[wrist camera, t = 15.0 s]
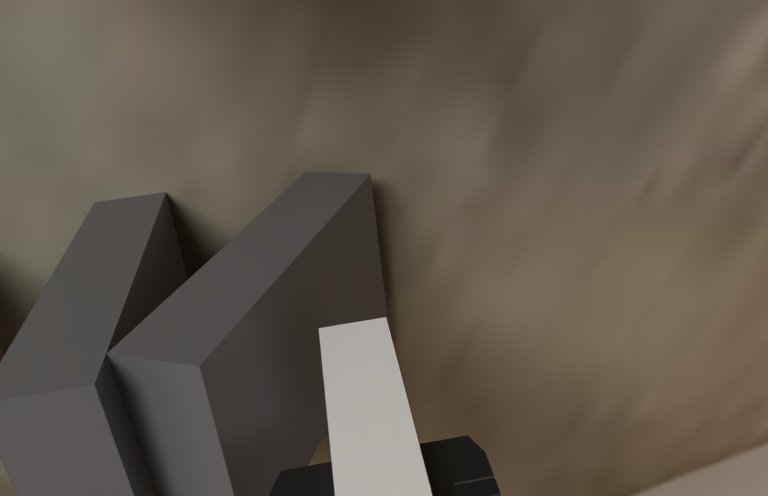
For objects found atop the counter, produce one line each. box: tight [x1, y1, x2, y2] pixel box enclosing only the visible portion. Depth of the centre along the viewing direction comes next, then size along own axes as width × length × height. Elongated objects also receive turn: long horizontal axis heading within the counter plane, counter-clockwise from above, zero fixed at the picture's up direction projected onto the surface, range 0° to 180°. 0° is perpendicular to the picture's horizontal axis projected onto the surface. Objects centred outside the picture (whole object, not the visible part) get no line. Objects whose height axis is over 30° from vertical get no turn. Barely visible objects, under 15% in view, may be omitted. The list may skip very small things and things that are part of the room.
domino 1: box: [0, 193, 188, 496], centre depth 17 cm, size 5×2×9 cm, turn 6°
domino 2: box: [107, 172, 388, 496], centre depth 18 cm, size 5×2×9 cm, turn 6°
